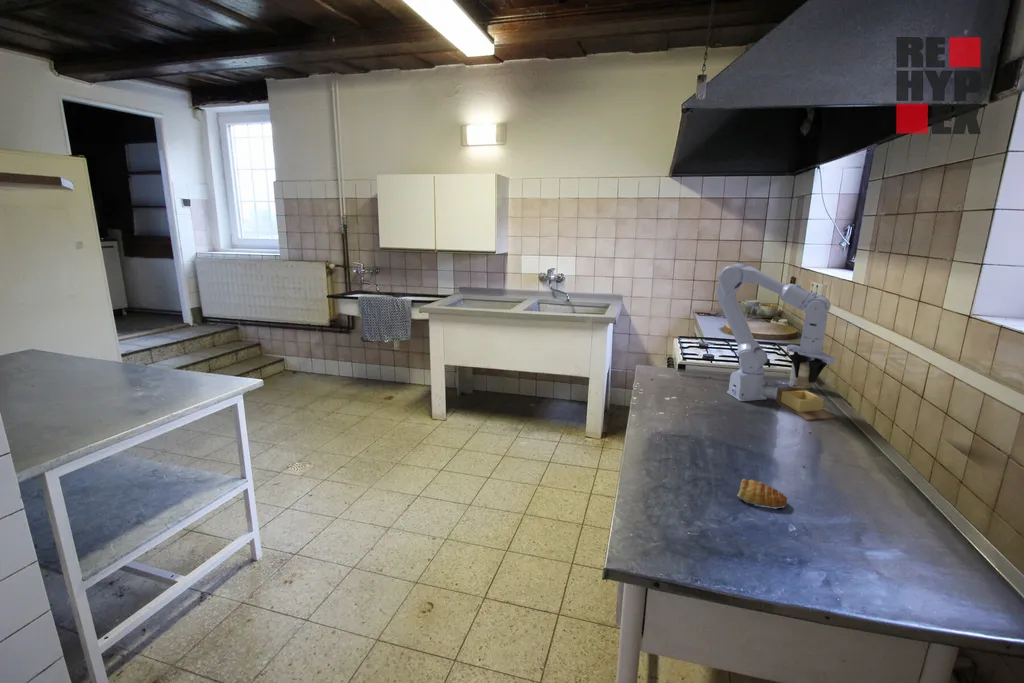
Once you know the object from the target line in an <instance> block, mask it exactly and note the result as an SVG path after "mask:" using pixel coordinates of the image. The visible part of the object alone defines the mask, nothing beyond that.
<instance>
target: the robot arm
mask: <svg viewBox="0 0 1024 683" xmlns="http://www.w3.org/2000/svg"><path fill="white" fill-rule="evenodd" d="M717 280H718V281H717V282H718V283H717V291H716V298H717V300H718V303H719V305H720V308H721V309H722V312H723V314H724V318H725V319H726V321H727V323H728V325H729V328H730V330H731V333H732V335H733V337H734V340H735V342H736V344H737V355H738V358H739V361H738V365H739V369H738V370H736V371H732V373H731V374H730V377H729V384H728V390H727V391H726V393H727V394H728V395H730V396H731V397H734V399H736V400H737V401H739V402H749V401H750V402H751V401H763V400H764V401H765V400H767V399H768V398H767V397H766V396H764V395H763V394H762V391H763V383H764V377H765V369H764V365H765V364H766V363H767V362H768V354H767V352H766V351H765V350H764V349H763V348H762V347H761V346H760V343H759V342H758V341H757V340H755V337H754V336H753V333H752V331H751V329H750V327H749V324H748V322H747V319H746V317H745V315H744V312H743V310H742V308H741V306H740V303H739V301H738V298H737V297H736V294H737V292H738V290H739V288H740V286H741V285H743V284H756V285H758V286H761V287H763V288H764V289H767V290H769V291H771V292H773V293H775V294H778V295H779V297H780V300H781V301H782V302H785V303H786V304H788V305H790V306H792V307H794V308H796V309H798V310H800V311H804V313H805V315H804V316H805V317H804V321H803V325H802V332H801V338H800V343H799V345H797V344H787V346H786V351H787V352H792V354H790V356H789V358H790V360H791V362H792V363H793V365H794V369H795V376H796V378H798V374H799V368H800V363H801V362H807V360H808V358H809V357H810V358H812V359H811V360H810V361H809V368H810V373H809V382H810V383H812V384H813V383H816V381H817V380H818V378H819V376H820V374H821V372H822V371H823V370H824V368H826V367H827V365H834V364H835V361H836V357H834V356H833V355H830V354H827V353H825V352H823V351H822V350H823V344H824V340H825V335H826V334H825V333H826V328H827V321H828V312H829V311H830V309H831V307H832V306H831V302H830V300H829V299H828V298H827V297H826V296H824V295H818V292H811V291H809V290H807V289H805V288H803V287H802V285H801V284H800V283H796V284H794V283H789V284H785V283H783V282H781V281H779V280H778V279H776V278H774V277H772V276H770V275H768V274H766V273H764V272H762V271H760V270H759V269H756V268H755V267H753V266H750V265H746V264H745V263H742V262H737V263H734V264H731V265H727V266H725V267H724V268H723V269H722V270H721V271H720V273H719V275H718V277H717Z"/></svg>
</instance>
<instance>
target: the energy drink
mask: <svg viewBox="0 0 1024 683" xmlns="http://www.w3.org/2000/svg"><path fill="white" fill-rule="evenodd" d="M810 360H813V358H810V357H809V358H808V360H807V362H809V361H810ZM797 380H798V378H796V376H795V369H794V365H793V362H792V365H791V370H790V376H789V384H788V385H789V387H791V386H797Z"/></svg>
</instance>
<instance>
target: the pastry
mask: <svg viewBox="0 0 1024 683" xmlns="http://www.w3.org/2000/svg"><path fill="white" fill-rule="evenodd" d="M739 485H740V488H739V491H738V493H737V495H736V496H738V497H739V498H740V499H739V498H738V497H737V498H738V499H739V500H741V499H743V500H745V501H747V502H749V503H753V504H758V505H764V506H770V507H782V506H786V507H787V503H788V502H787V501H788V498H787V497H786V496H785V495H784V493H782V492H780V491H778V489H776V488H772V487H771V486H770V485H768V484H767V485H766V484H764V483H763V481H757V480H754V479H750V480H747V479H746V478H742V480H741V482H740V484H739Z"/></svg>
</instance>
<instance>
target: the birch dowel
mask: <svg viewBox="0 0 1024 683" xmlns="http://www.w3.org/2000/svg"><path fill="white" fill-rule="evenodd" d="M809 373H810V368H809V362H801V363H800V368H799V374H798V380H797V386H799V387H802V388H807V389H811V388H813V383H810V382H809Z"/></svg>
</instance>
